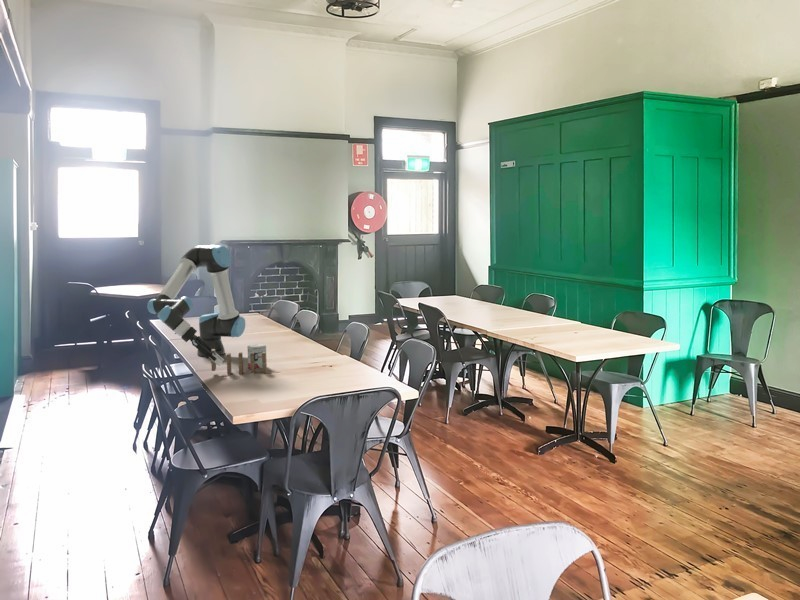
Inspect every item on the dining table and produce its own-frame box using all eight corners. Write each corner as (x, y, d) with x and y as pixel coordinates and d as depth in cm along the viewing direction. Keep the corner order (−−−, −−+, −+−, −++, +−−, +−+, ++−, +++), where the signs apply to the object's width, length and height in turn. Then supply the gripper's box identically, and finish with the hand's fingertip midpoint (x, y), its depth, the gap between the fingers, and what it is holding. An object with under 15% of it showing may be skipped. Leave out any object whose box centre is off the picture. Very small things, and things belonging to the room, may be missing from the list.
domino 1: (228, 372, 344) (227, 353, 342) (231, 372, 344) (230, 352, 343) (227, 374, 339) (226, 355, 337) (230, 374, 339) (229, 354, 338)
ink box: (251, 369, 350) (250, 347, 348) (247, 368, 353) (246, 345, 352) (267, 367, 355) (266, 345, 353) (263, 365, 359) (262, 343, 357)
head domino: (212, 368, 342) (211, 349, 341) (216, 368, 342) (215, 348, 341) (211, 370, 337) (210, 350, 336) (215, 370, 337) (214, 350, 336)
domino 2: (239, 372, 344) (239, 352, 343) (243, 371, 345) (242, 352, 343) (239, 374, 340) (238, 354, 338) (242, 374, 340) (241, 354, 339)
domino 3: (251, 371, 345) (250, 352, 344) (254, 371, 346) (254, 351, 344) (250, 373, 340) (250, 354, 339) (254, 373, 341) (253, 353, 339)
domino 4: (263, 371, 346) (262, 351, 345) (266, 370, 346) (265, 351, 345) (262, 373, 341) (261, 353, 340) (266, 373, 342) (265, 353, 340)
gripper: (183, 333, 344) (218, 364, 348) (177, 340, 326) (214, 372, 331) (193, 323, 344) (228, 354, 348) (188, 328, 326) (224, 361, 331)
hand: (221, 362), depth 340 cm, fingers closed on head domino, 5 cm apart
